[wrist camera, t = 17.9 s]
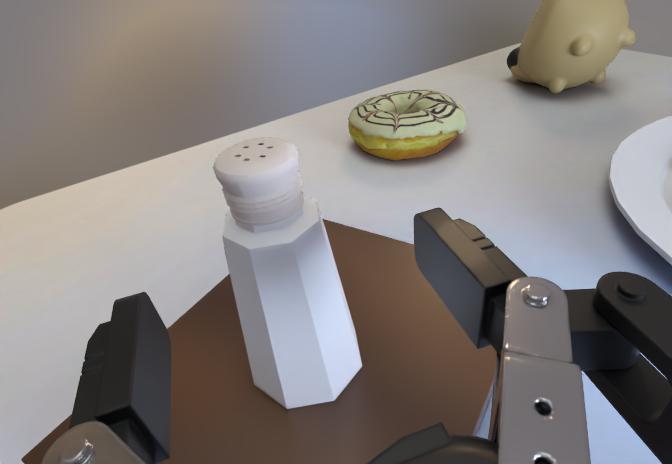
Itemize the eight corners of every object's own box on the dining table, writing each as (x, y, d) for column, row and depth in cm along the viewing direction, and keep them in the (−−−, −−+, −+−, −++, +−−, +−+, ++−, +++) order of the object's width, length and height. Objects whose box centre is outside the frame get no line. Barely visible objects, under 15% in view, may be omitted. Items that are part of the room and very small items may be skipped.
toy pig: (583, 106, 51) (552, 30, 53) (672, 40, 39) (627, -54, 41) (510, 121, 49) (481, 42, 51) (580, 56, 37) (538, -42, 39)
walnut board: (338, 799, 11) (330, 800, 10) (39, 474, 19) (20, 459, 18) (528, 297, 24) (533, 277, 23) (302, 228, 32) (298, 211, 31)
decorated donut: (487, 141, 39) (492, 101, 37) (391, 179, 36) (389, 138, 33) (418, 110, 47) (418, 75, 44) (333, 139, 43) (329, 103, 41)
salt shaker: (348, 423, 18) (304, 202, 11) (232, 399, 19) (133, 192, 12) (374, 323, 22) (354, 117, 15) (277, 309, 23) (220, 118, 17)
